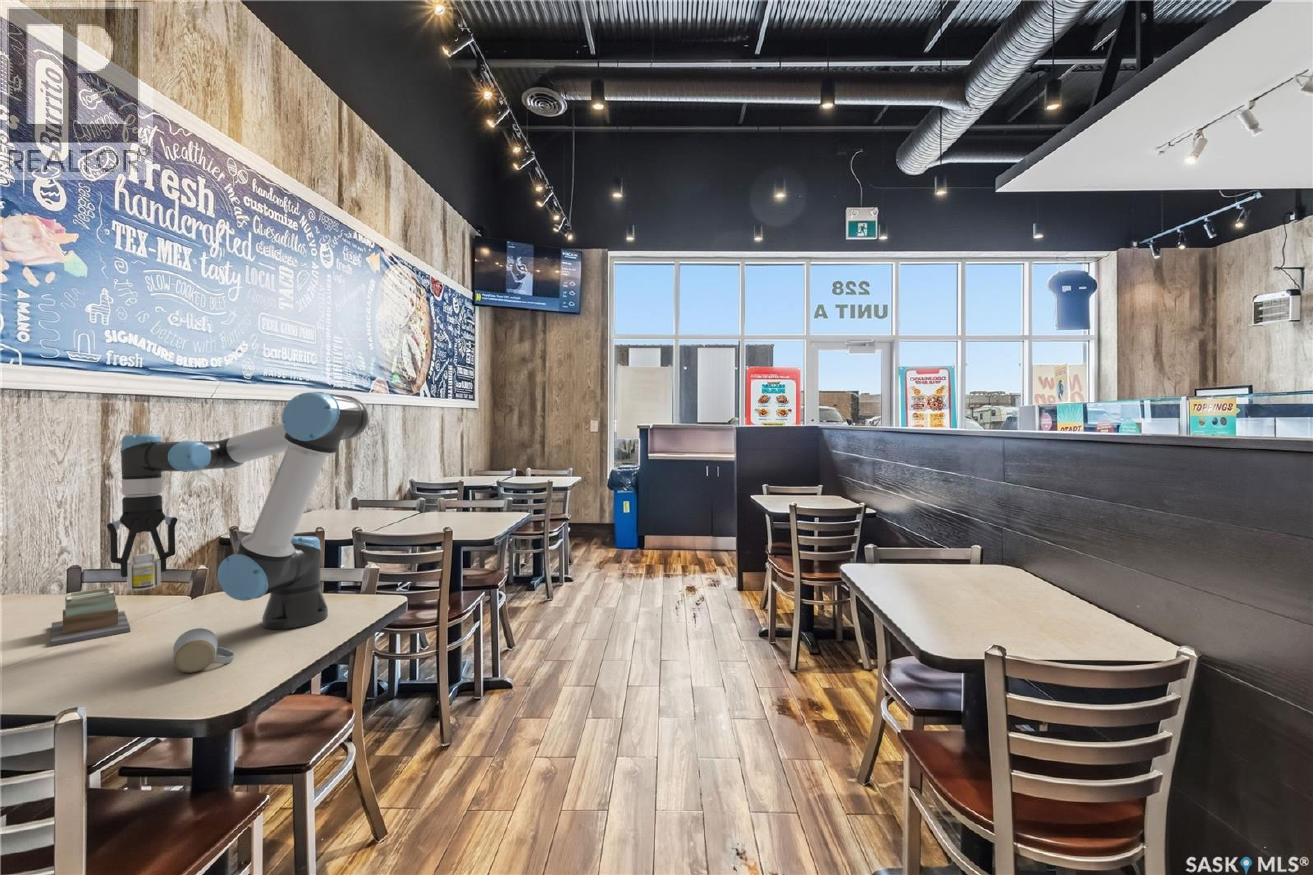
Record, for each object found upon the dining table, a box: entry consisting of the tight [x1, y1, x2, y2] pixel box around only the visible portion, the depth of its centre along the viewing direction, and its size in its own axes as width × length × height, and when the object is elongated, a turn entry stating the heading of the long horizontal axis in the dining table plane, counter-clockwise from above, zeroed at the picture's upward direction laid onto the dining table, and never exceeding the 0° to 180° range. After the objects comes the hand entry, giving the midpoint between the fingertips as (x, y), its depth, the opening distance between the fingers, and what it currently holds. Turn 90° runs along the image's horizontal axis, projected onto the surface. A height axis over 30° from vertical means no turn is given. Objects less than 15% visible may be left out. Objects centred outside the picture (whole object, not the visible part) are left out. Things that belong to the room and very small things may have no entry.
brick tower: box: [50, 586, 131, 647], centre depth 149 cm, size 20×14×10 cm
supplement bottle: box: [131, 553, 158, 591], centre depth 144 cm, size 5×5×8 cm
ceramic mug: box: [172, 627, 236, 674], centre depth 125 cm, size 11×8×8 cm
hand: (144, 586), depth 144 cm, fingers closed on supplement bottle, 5 cm apart
